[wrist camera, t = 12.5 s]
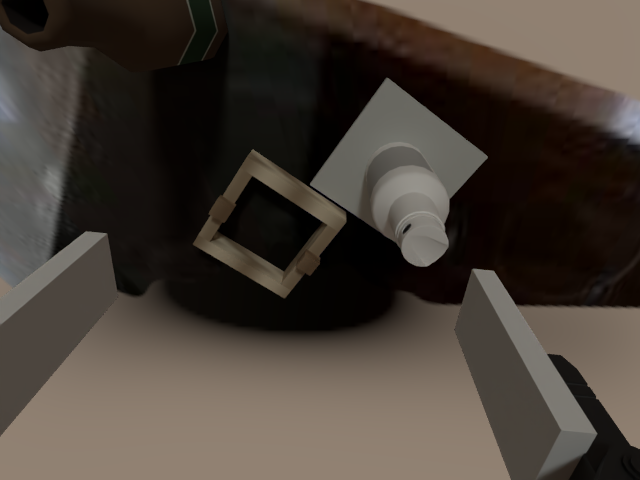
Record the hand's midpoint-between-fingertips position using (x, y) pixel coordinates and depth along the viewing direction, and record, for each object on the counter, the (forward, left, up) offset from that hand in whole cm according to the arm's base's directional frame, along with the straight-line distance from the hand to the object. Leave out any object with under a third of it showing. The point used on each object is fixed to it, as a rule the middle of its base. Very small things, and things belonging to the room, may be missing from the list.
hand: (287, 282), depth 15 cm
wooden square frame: (+2, -14, -33) cm, 36 cm away
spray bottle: (+10, 0, -32) cm, 34 cm away
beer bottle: (-16, 0, -33) cm, 37 cm away
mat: (+10, 0, -33) cm, 34 cm away
